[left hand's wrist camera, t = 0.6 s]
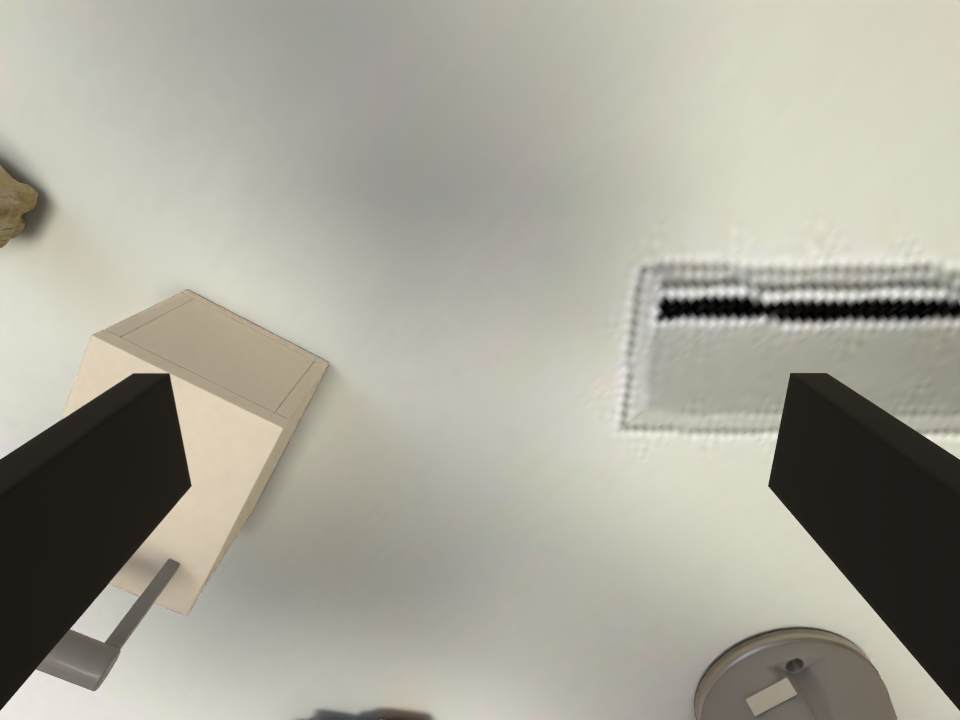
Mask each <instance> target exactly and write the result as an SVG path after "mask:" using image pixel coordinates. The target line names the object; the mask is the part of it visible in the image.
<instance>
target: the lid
mask: <svg viewBox="0 0 960 720" xmlns="http://www.w3.org/2000/svg"><path fill="white" fill-rule="evenodd" d="M133 373H170V378H171V383H172V388H173V393H174V398H175V403H176V409H177V414H178V419H179V424H180V429H181V434H182V439H183V444H184V449H185V454H186V459H187V464H188V470H189V475H190V480H191V485H192V486H191V487H190V489H189V490H188V491H187V492H186V493H185V495H184V496H183V497H182V498H181V499H180V500H179V502H178V503H177V504H176V505H175V506H174V507H173V509H172V510H171V511H170V512H169V513H168V514H167V516H166V517H165V518H164V519H163V520H162V521H161V523H160V524H159V525H158V526H157V527H156V529H155V530H154V531H153V532H152V533H151V534H150V536H149V537H148V538H147V539H146V540H145V541H144V543H143V544H142V545H141V546H140V547H139V548H138V550H137V551H136V552H135V553H134V554H133V556H132V557H131V558H130V559H129V560H128V561H127V563H126V564H125V565H124V566H123V567H122V568H121V570H120V571H119V572H118V573H117V574H116V575H115V577H114V578H113V579H112V580H111V581H110V582H109V584H110V585H112V586H115V587H117V588H120V589H122V590H124V591H127V592H129V593H132V594H134V595H137V596H139V598H138V600H137V601H136V602H135V604H134V605H133V606H132V608H131V609H130V610H129V612H128V613H127V614H126V615H125V617H124V618H123V619H122V621H121V622H120V623H119V625H118V626H117V627H116V629H115V630H114V631H113V633H112V634H111V635H110V637H109V638H108V639H107V640H106V642H105V643H103V642H101V641H98V640H96V639H93V638H90V637H88V636H85V635H83V634H80V633H78V632H75V631H73V630H70V629H69V631H68V632H67V633H66V634H65V635H64V636H63V638H62V639H61V640H60V641H59V642H58V643H57V645H56V646H55V647H54V648H53V649H52V651H51V652H50V653H49V654H48V655H47V656H46V658H45V659H44V660H43V661H42V662H41V663H40V665H39V666H38V667H37V668H36V669H37V670H39V671H42V672H45V673H47V674H50V675H52V676H55V677H58V678H60V679H63V680H66V681H68V682H71V683H73V684H76V685H79V686H81V687H84V688H87V689H89V690H92V691H96V690H97V689H98V688H99V686H100V685H101V684H102V682H103V681H104V680H105V678H106V677H107V675H108V674H109V672H110V670H111V669H112V667H113V665H114V664H115V662H116V660H117V658H118V656H119V654H120V651H121V650H120V649H121V648H122V647H123V645H124V644H125V642H126V641H127V640H128V638H129V637H130V635H131V634H132V633H133V631H134V630H135V628H136V627H137V626H138V624H139V623H140V621H141V620H142V619H143V617H144V616H145V615H146V613H147V612H148V610H149V609H150V608H151V606H152V605H153V603H156V604H158V605H161V606H163V607H166V608H168V609H170V610H173V611H175V612H178V613H180V614H182V615H185V616H187V615H188V614H189V613H190V611H191V609H192V608H193V606H194V605H195V603H196V601H197V599H198V597H199V595H200V593H201V591H202V589H203V587H204V585H205V583H206V581H207V579H208V577H209V575H210V574H211V572H212V570H213V568H214V566H215V564H216V562H217V560H218V558H219V556H220V554H221V552H222V550H223V548H224V546H225V544H226V542H227V540H228V539H229V537H230V535H231V533H232V531H233V529H234V527H235V525H236V523H237V521H238V519H239V517H240V515H241V513H242V511H243V509H244V507H245V505H246V504H247V502H248V500H249V498H250V496H251V494H252V492H253V490H254V488H255V486H256V484H257V482H258V480H259V478H260V476H261V474H262V472H263V470H264V469H265V467H266V465H267V463H268V461H269V459H270V457H271V455H272V453H273V451H274V449H275V447H276V445H277V443H278V441H279V439H280V437H281V435H282V434H283V432H284V430H285V428H286V426H287V424H288V422H289V420H287V419H285V418H283V417H281V416H279V415H277V414H275V413H273V412H271V411H269V410H267V409H265V408H263V407H261V406H259V405H257V404H255V403H253V402H251V401H249V400H247V399H245V398H242V397H240V396H238V395H236V394H234V393H232V392H230V391H228V390H226V389H224V388H222V387H220V386H218V385H216V384H214V383H212V382H210V381H208V380H206V379H204V378H202V377H200V376H198V375H196V374H194V373H191V372H189V371H187V370H185V369H183V368H181V367H179V366H177V365H175V364H173V363H171V362H169V361H167V360H165V359H163V358H161V357H159V356H157V355H155V354H153V353H151V352H149V351H147V350H145V349H143V348H141V347H138V346H136V345H134V344H132V343H130V342H128V341H126V340H124V339H122V338H120V337H118V336H116V335H114V334H112V333H110V332H108V331H106V330H102V331H100V332H98V333H95V334H93V335H92V336H91V338H90V341H89V344H88V346H87V349H86V352H85V355H84V357H83V360H82V363H81V365H80V368H79V371H78V374H77V376H76V379H75V382H74V385H73V387H72V390H71V393H70V396H69V398H68V401H67V404H66V407H65V409H64V412H63V415H62V418H61V420H62V419H64V418H65V417H67V416H68V415H70V414H71V413H73V412H74V411H76V410H77V409H79V408H81V407H82V406H84V405H85V404H87V403H88V402H90V401H91V400H93V399H94V398H96V397H97V396H99V395H101V394H102V393H104V392H105V391H107V390H108V389H110V388H111V387H113V386H114V385H116V384H117V383H119V382H121V381H122V380H124V379H125V378H127V377H128V376H130V375H131V374H133ZM61 420H60V421H61Z"/></svg>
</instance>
